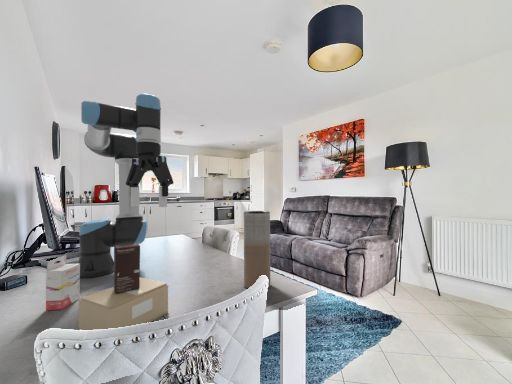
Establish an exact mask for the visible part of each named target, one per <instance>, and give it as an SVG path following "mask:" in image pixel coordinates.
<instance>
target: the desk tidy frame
mask: <svg viewBox="0 0 512 384" xmlns="http://www.w3.org/2000/svg"><path fill="white" fill-rule="evenodd" d="M65 255H66V260H68V259H72V258H77V257H79V256H80V252H79V251H75V252H70V253H64V254H60V255H55V256H49V257H43V258H39V259H38V262H39V263H41V265H40V266H42V267H43V266H44V267H47V264H48V261H46V260H47V259H50V258H56V257H57V258H58V257H62V256H65ZM78 260H79V259H76V260H70V261H66V264H77V263H78ZM57 263H58V262H55V263H54V264H57Z"/></svg>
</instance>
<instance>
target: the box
mask: <svg viewBox="0 0 512 384" xmlns="http://www.w3.org/2000/svg"><path fill="white" fill-rule="evenodd" d="M113 261H114V271H113V287H114V292H115V294H116V293H121V292H125V291H130V290H135V289H139V285H140V277H141V275H140V274H141V271H140V270H141V245H140V244H138V243H134V244H123V245H115V246H114V247H113Z"/></svg>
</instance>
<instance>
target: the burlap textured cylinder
mask: <svg viewBox="0 0 512 384" xmlns="http://www.w3.org/2000/svg"><path fill="white" fill-rule="evenodd" d="M261 275H266V276H267V277H268V279H269V288H270V287H271V212H270V211H266V210H251V211H250V210H249V211H248V210H247V211H243V282H244V283H243V284H244V288H245V289H247V288H249V287H250V286H252V285H253V284H254V283H255V282H256V280H257V279H258V278H259V276H261Z"/></svg>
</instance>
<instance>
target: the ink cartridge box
mask: <svg viewBox="0 0 512 384" xmlns="http://www.w3.org/2000/svg"><path fill="white" fill-rule="evenodd" d="M66 262H67V259H66V255H65V256H62V257H58V258H56V259H53V260H50V261H48V264H47V266H46V272H45V273H46V274H45V276H46V278H45V279H46V280H45V281H46V282H45V310H46V311H54V310H55V311H56V310H57V311H58V310H61V311H62V310H63V309H65V308H66V307H69V306H70V305H72V303H74V302H76V301H79V299H80V295H81V294H80V288H81V287H80V286H81V282H80V280H81V278H80V264H66ZM54 263H57V264H54Z"/></svg>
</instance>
